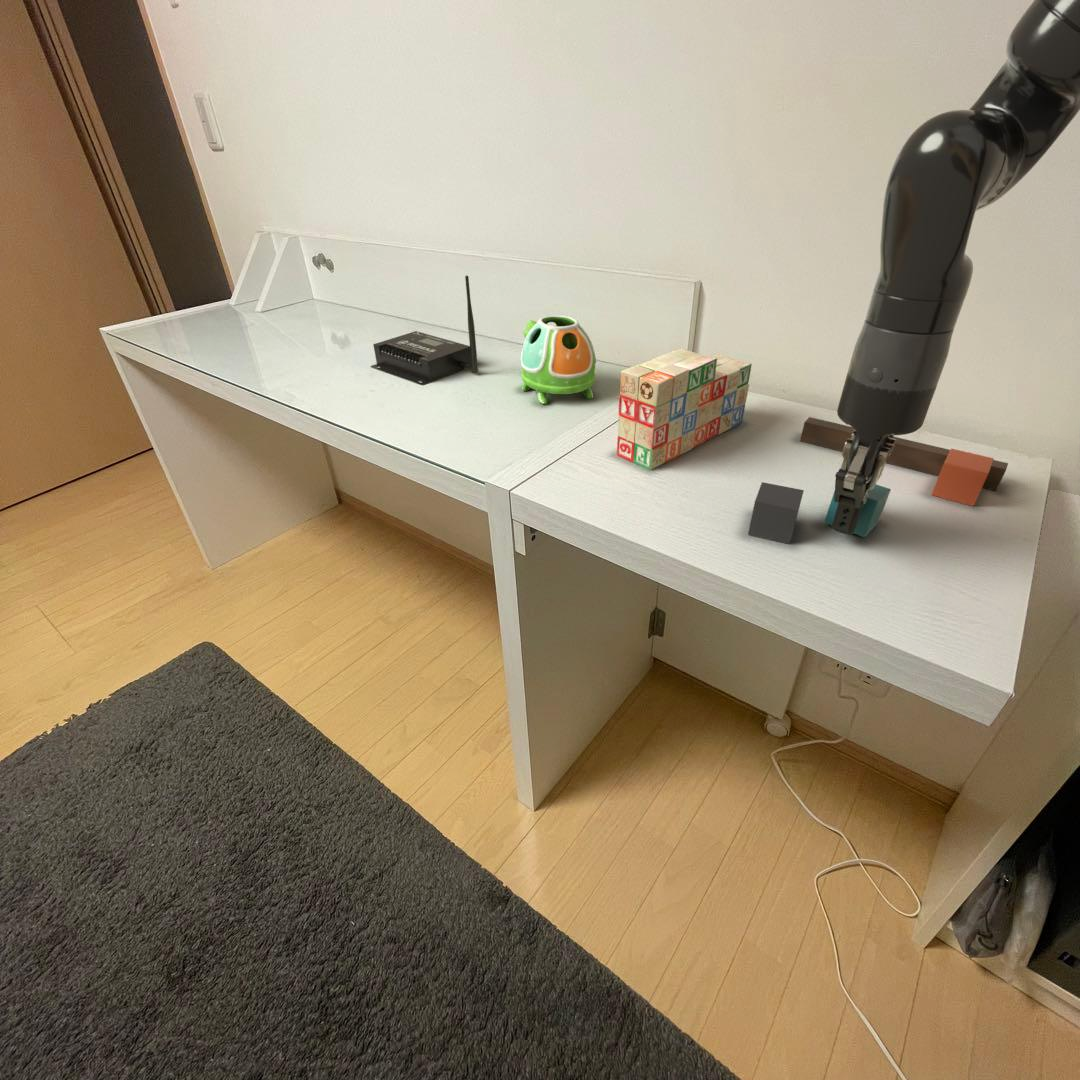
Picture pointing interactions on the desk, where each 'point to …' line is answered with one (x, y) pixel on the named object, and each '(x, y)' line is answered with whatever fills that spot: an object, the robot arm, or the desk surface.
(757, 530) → the block charcoal
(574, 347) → the turtle holder
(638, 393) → the stack of blocks
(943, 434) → the desk surface
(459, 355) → the wireless controller
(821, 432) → the rail
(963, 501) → the block terracotta
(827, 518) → the block teal
